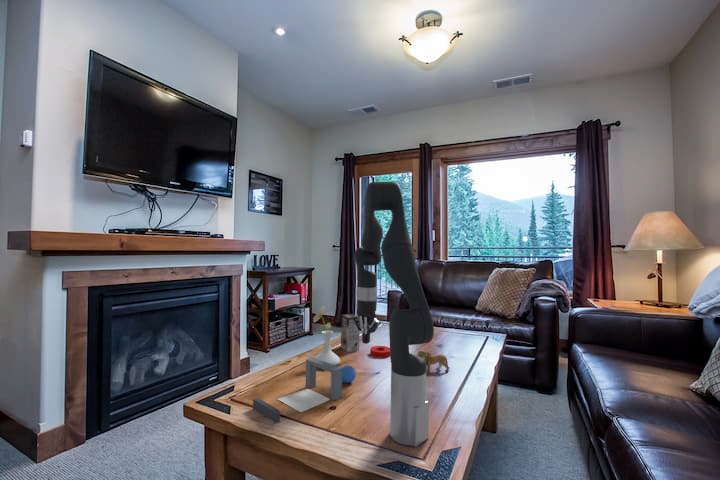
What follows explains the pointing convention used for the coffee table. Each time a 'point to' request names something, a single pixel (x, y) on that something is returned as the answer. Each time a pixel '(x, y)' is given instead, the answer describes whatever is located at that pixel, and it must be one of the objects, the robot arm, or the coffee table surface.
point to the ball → (348, 374)
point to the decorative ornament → (380, 351)
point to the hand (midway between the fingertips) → (365, 343)
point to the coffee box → (349, 333)
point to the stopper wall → (266, 409)
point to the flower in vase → (326, 341)
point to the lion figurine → (433, 360)
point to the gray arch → (335, 370)
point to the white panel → (303, 400)
